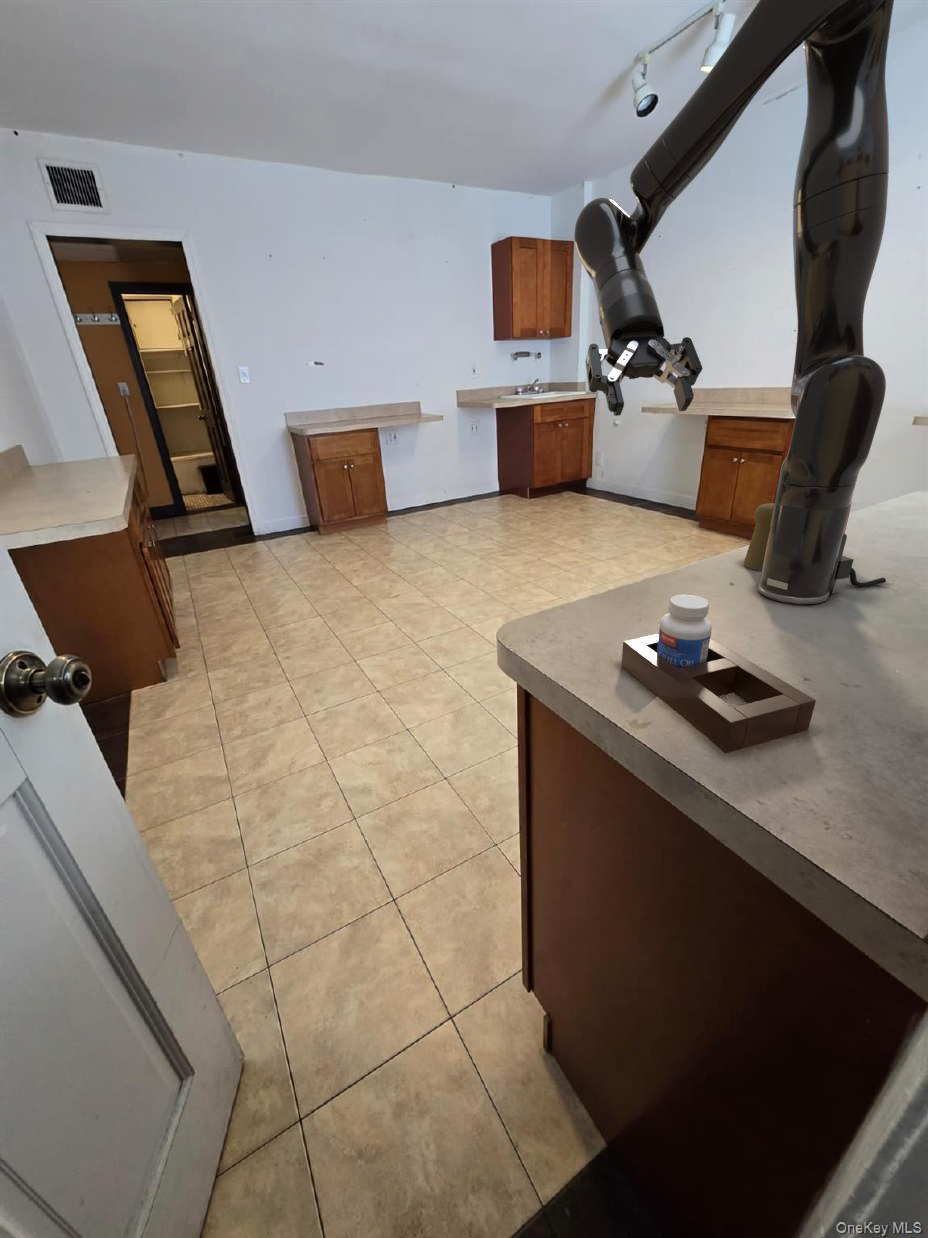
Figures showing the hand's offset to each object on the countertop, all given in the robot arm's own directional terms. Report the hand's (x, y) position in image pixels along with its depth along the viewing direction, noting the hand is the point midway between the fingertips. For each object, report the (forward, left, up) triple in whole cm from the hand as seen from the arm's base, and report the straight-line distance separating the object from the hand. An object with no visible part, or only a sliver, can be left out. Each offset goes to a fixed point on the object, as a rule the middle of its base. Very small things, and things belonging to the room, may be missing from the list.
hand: (652, 408), depth 65 cm
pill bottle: (+6, +17, -29) cm, 34 cm away
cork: (-31, -8, -29) cm, 43 cm away
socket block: (+6, +22, -29) cm, 36 cm away
